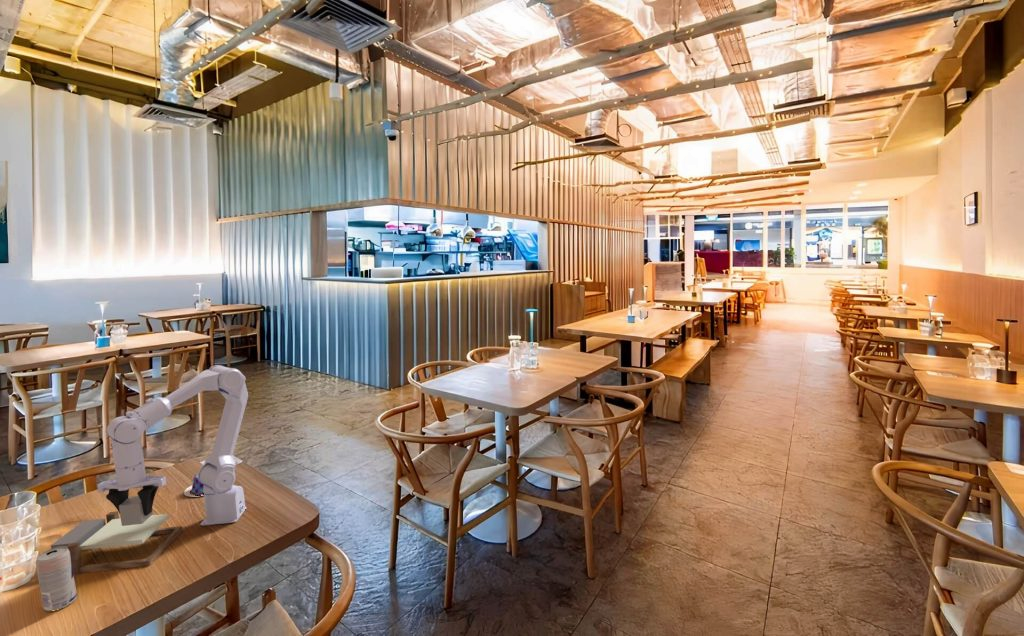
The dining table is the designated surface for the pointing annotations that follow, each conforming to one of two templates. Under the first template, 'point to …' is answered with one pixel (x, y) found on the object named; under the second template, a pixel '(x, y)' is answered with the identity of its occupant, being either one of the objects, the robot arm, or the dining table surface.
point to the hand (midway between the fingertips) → (136, 514)
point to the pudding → (195, 487)
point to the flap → (110, 533)
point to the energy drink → (56, 578)
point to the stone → (132, 511)
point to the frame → (79, 568)
